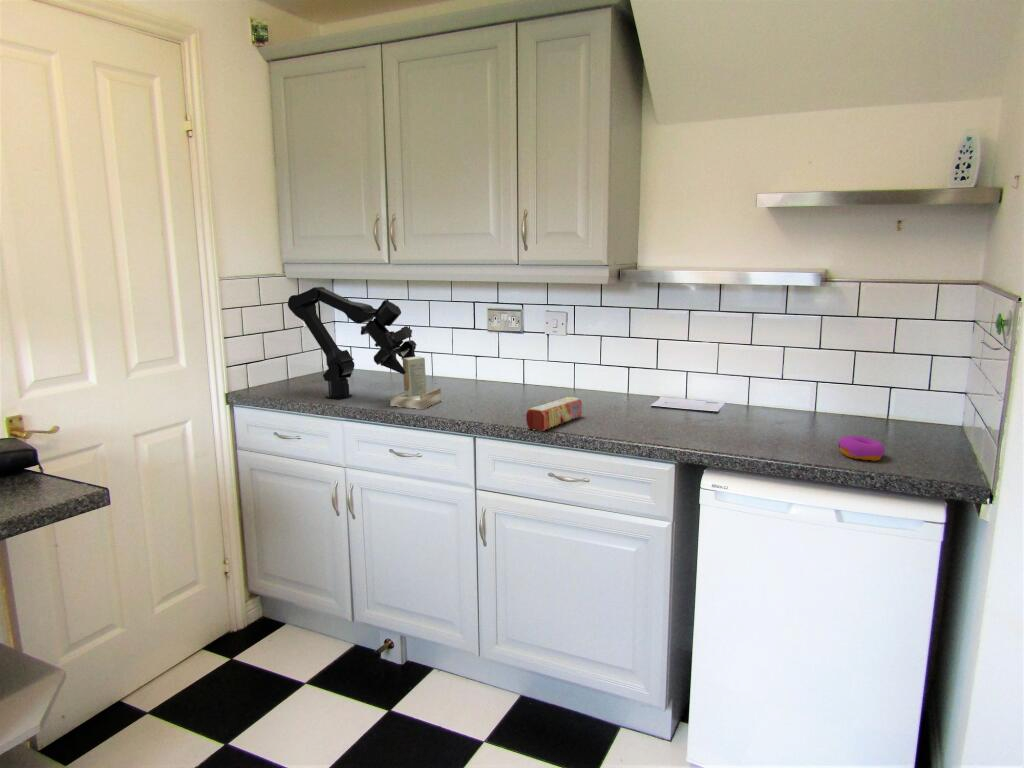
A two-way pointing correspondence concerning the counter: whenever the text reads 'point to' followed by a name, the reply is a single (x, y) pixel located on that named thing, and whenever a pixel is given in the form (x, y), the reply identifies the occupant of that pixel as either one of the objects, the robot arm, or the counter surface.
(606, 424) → the counter surface
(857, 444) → the donut
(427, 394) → the stand
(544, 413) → the snack package
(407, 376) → the skincare box
